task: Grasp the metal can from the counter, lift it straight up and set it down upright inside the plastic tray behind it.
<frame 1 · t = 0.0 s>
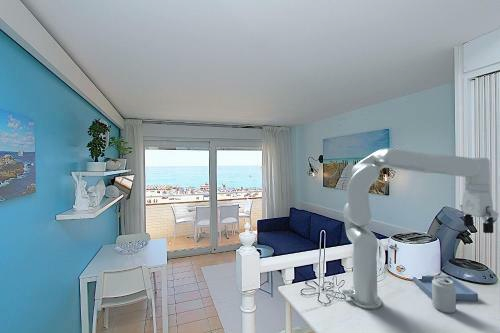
hand: (477, 229, 99), 31 cm above the kitchen counter, tool pointing down, fingers open, 9 cm apart
tray: (442, 290, 111), on the kitchen counter
can: (443, 309, 98), on the kitchen counter
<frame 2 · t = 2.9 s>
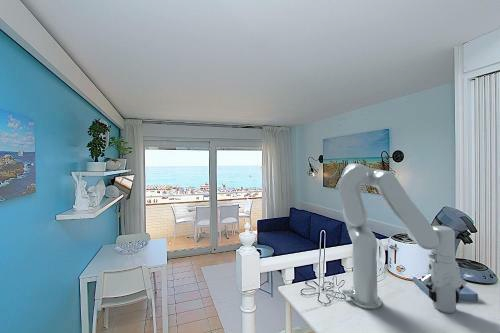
hand: (443, 300, 97), 3 cm above the kitchen counter, tool pointing down, fingers closed on can, 7 cm apart
can: (444, 309, 98), on the kitchen counter, touching gripper
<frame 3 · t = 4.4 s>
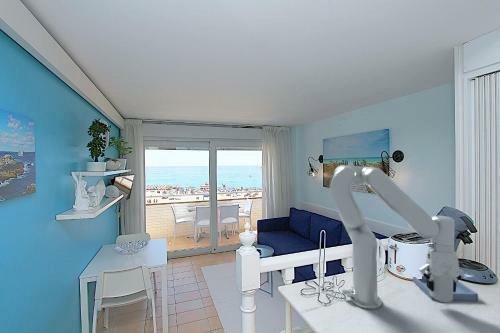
hand: (441, 289, 98), 8 cm above the kitchen counter, tool pointing down, fingers closed on can, 7 cm apart
can: (440, 298, 98), point 4 cm above the kitchen counter, touching gripper
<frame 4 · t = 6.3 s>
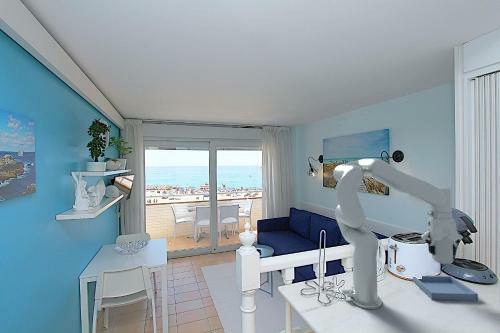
hand: (442, 253, 107), 18 cm above the kitchen counter, tool pointing down, fingers closed on can, 7 cm apart
can: (442, 261, 107), point 14 cm above the kitchen counter, touching gripper
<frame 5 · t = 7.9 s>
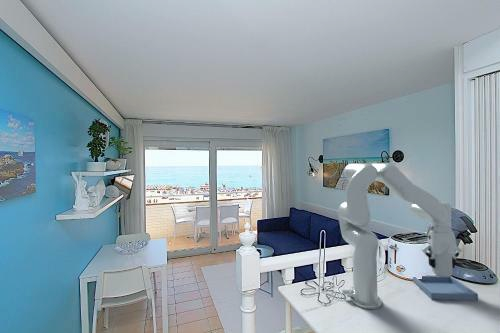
hand: (441, 266, 110), 11 cm above the kitchen counter, tool pointing down, fingers closed on can, 7 cm apart
can: (442, 274, 110), point 7 cm above the kitchen counter, touching gripper
when the fingers open (6 cm above the kitchen counter, at t = 9.4 s): can drops 2 cm, resting on tray.
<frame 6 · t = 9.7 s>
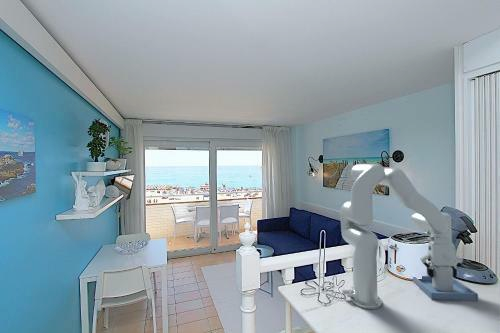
hand: (441, 276, 110), 6 cm above the kitchen counter, tool pointing down, fingers open, 9 cm apart
can: (442, 289, 110), resting on tray
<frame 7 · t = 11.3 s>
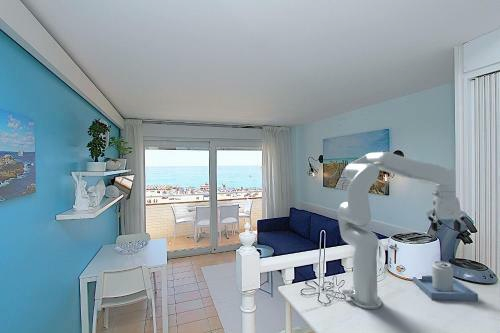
hand: (445, 230, 113), 27 cm above the kitchen counter, tool pointing down, fingers open, 9 cm apart
nothing on the kitchen counter moved.
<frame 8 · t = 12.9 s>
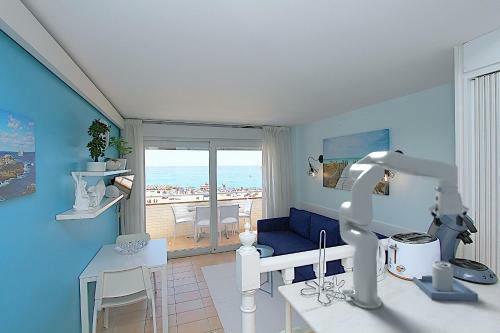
hand: (448, 225, 115), 28 cm above the kitchen counter, tool pointing down, fingers open, 9 cm apart
nothing on the kitchen counter moved.
at the end: can inside the target area on the tray (0.3 cm from its centre), point 0.4 cm above the tray's base; can tilted 0°; the gripper is holding nothing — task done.
